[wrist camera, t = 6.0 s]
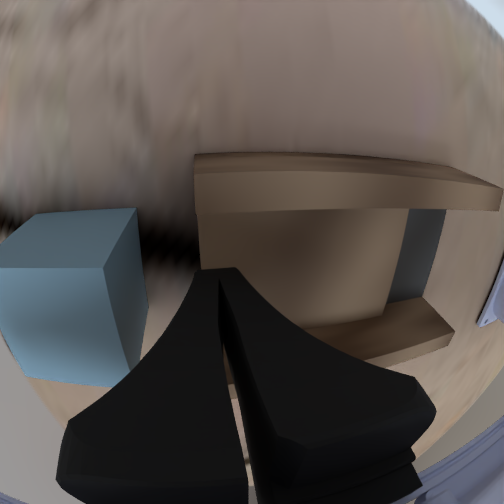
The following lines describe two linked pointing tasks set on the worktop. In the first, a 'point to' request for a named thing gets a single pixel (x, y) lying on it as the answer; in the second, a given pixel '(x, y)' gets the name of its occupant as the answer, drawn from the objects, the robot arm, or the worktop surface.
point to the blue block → (74, 296)
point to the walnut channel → (336, 242)
